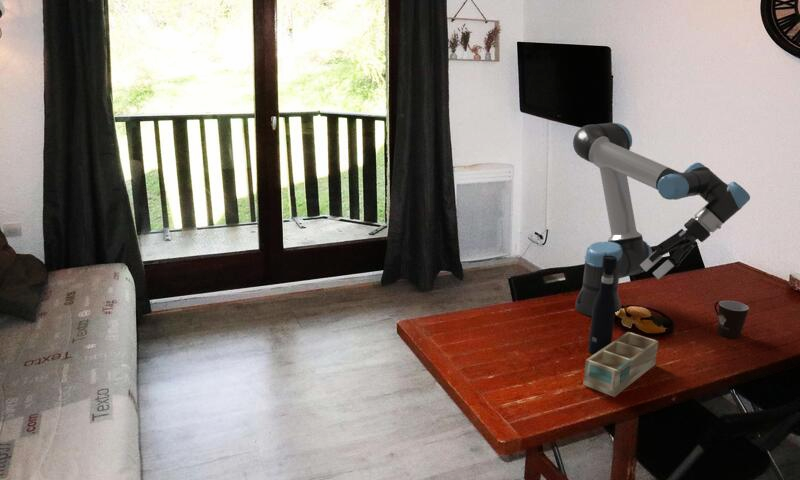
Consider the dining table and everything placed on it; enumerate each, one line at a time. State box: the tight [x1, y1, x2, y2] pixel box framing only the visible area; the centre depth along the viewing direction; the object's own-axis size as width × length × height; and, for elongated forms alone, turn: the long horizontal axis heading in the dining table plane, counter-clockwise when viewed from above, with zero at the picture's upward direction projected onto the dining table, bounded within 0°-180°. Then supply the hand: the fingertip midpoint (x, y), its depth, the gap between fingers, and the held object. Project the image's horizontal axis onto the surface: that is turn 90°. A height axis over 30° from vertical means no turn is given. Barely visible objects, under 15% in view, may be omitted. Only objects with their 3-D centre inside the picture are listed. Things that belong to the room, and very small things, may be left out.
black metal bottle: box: [587, 255, 617, 355], centre depth 197 cm, size 6×6×30 cm
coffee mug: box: [714, 300, 750, 340], centre depth 215 cm, size 12×9×10 cm
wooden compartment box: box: [582, 331, 659, 398], centre depth 186 cm, size 9×26×8 cm, turn 137°
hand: (649, 272), depth 210 cm, fingers open, 13 cm apart
